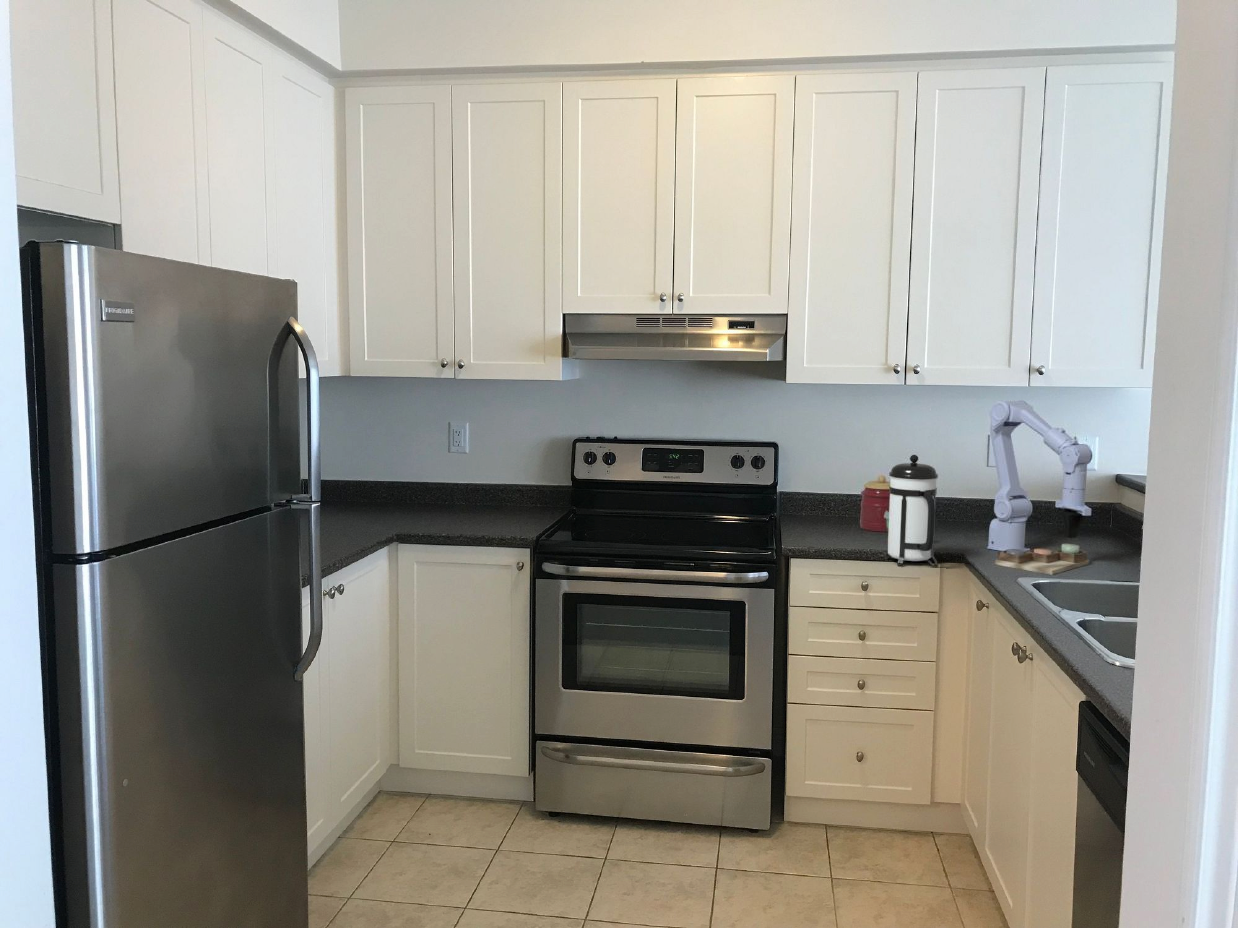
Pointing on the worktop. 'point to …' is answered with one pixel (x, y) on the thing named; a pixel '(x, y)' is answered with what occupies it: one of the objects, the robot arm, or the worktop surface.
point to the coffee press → (912, 512)
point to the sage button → (1070, 548)
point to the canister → (875, 505)
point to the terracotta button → (1042, 551)
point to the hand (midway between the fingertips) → (1071, 537)
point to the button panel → (1043, 561)
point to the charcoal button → (1015, 551)
